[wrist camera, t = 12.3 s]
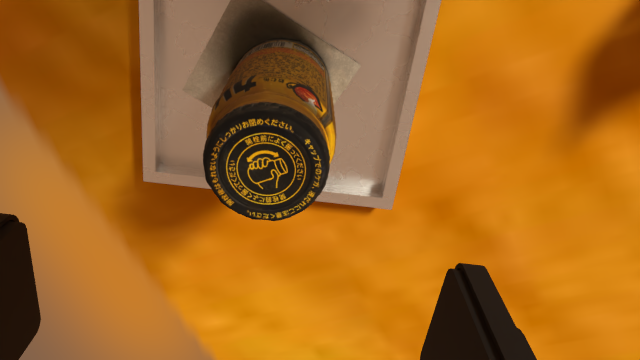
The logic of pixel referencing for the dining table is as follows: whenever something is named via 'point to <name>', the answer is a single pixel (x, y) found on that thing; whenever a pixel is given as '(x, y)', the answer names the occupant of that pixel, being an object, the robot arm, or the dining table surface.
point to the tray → (350, 108)
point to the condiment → (268, 110)
